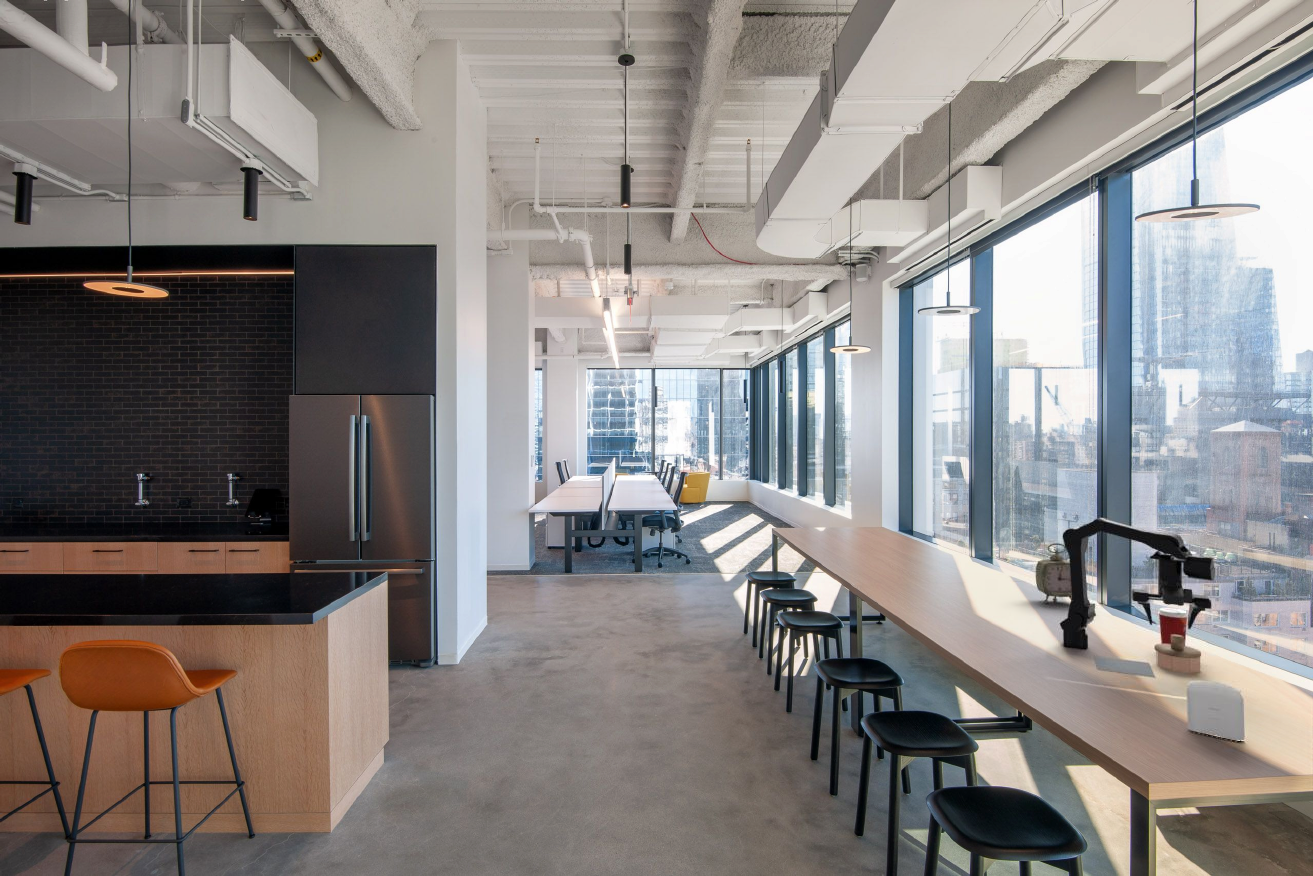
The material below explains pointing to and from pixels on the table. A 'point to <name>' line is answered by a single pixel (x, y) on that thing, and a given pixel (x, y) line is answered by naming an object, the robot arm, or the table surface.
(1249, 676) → the table surface
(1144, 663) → the mat
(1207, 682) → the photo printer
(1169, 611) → the paper cup
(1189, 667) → the bowl
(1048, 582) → the tabletop clock
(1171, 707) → the table surface
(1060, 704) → the table surface
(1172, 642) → the lid
